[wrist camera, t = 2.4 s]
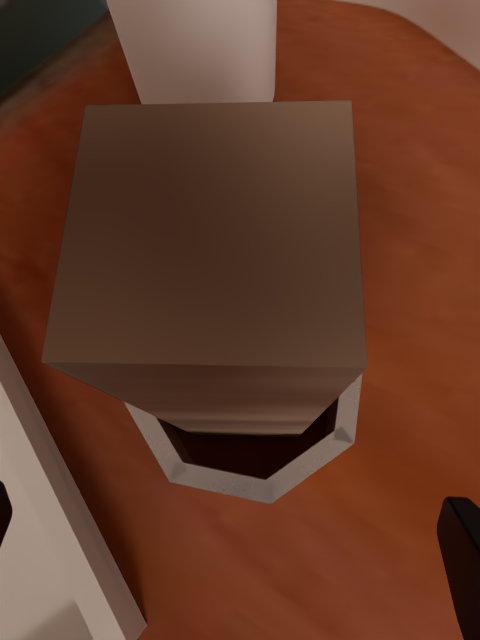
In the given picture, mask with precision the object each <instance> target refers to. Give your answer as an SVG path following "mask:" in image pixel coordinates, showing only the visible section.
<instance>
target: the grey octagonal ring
mask: <svg viewBox="0 0 480 640" xmlns="http://www.w3.org/2000/svg"><path fill="white" fill-rule="evenodd" d="M361 380H362V374H361V375H360V376H359V377H358V378H357V379H356V380H355V381H354V382H353V383H352V384H351V385H350V386H349V387H348V388H347V389H346V390H345V391H344V392H343V393H342V394H341V395H340V396H339V397H338V398H337V399H336V400H335V401H334V402H333V403H332V404H331V405H330V406H329V412H328V419H327V427H326V434H325V437H323V438H322V439H321V440H319V441H318V442H316V443H315V444H314V445H312V446H311V447H309V448H308V449H307V450H305V451H304V452H302V453H301V454H300V455H298V456H297V457H295V458H294V459H293V460H291V461H290V462H288V463H287V464H286V465H284V466H283V467H281V468H280V469H279V470H277V471H276V472H274V473H273V474H272V475H270V476H269V477H267V478H266V479H265V478H260V477H256V476H251V475H246V474H241V473H237V472H232V471H227V470H222V469H218V468H213V467H208V466H204V465H199V464H194V462H193V461H192V459H191V457H190V456H189V454H188V452H187V451H186V449H185V447H184V446H183V444H182V442H181V441H180V439H179V437H178V436H177V434H176V432H175V431H174V429H173V427H172V426H171V424H170V423H168V422H166V421H164V420H162V419H159V418H157V417H155V416H153V415H151V414H149V413H147V412H145V411H143V410H140V409H138V408H136V407H134V406H132V405H130V404H128V403H126V402H124V401H123V402H124V403H125V405H126V407H127V409H128V410H129V412H130V414H131V416H132V417H133V419H134V421H135V422H136V424H137V426H138V428H139V429H140V431H141V433H142V435H143V436H144V438H145V440H146V442H147V443H148V445H149V447H150V449H151V450H152V452H153V454H154V456H155V457H156V459H157V461H158V462H159V464H160V466H161V468H162V469H163V471H164V473H165V475H166V476H167V478H168V480H169V482H172V483H176V484H181V485H186V486H190V487H195V488H199V489H204V490H209V491H213V492H218V493H222V494H227V495H232V496H236V497H241V498H245V499H250V500H255V501H259V502H264V503H268V504H271V503H273V502H274V501H275V500H277V499H278V498H280V497H281V496H282V495H284V494H285V493H286V492H288V491H289V490H291V489H292V488H293V487H295V486H296V485H297V484H299V483H300V482H302V481H303V480H304V479H306V478H307V477H309V476H310V475H311V474H313V473H314V472H315V471H317V470H318V469H320V468H321V467H322V466H324V465H325V464H326V463H328V462H329V461H331V460H332V459H333V458H335V457H336V456H337V455H339V454H340V453H342V452H343V451H344V450H346V449H347V448H348V447H350V446H351V445H353V444H354V441H355V432H356V423H357V415H358V406H359V398H360V389H361Z"/></svg>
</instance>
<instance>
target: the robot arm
mask: <svg viewBox="0 0 480 640" xmlns="http://www.w3.org/2000/svg"><path fill="white" fill-rule="evenodd" d="M12 512H13V511H12V505H11V502H10V499H9V496H8V493H7V491H6V488H5V485H4V483H3V482H2V481H0V547H1V544H2V542H3V539H4V537H5V534H6V532H7V529H8V526H9V524H10V521H11V518H12ZM437 536H438V541H439V545H440V549H441V554H442V558H443V562H444V566H445V571H446V575H447V579H448V583H449V588H450V592H451V596H452V600H453V604H454V608H455V612H456V616H457V620H458V623H459V626H460V629H461V633H462V636H463V638H464V640H480V508H479V507H478V506H477V505H476V504H474V503H473V502H472V501H471V500H470V499H468V498H466V497H446V498H445V499H444V501H443V504H442V508H441V512H440V515H439V519H438V523H437Z"/></svg>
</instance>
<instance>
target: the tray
mask: <svg viewBox="0 0 480 640" xmlns="http://www.w3.org/2000/svg"><path fill="white" fill-rule="evenodd" d="M0 481H2V482H3V483H4V485H5V488H6V491H7V493H8V496H9V499H10V502H11V505H12V511H13V512H12V518H11V521H10V524H9V526H8V529H7V532H6V534H5V537H4V539H3V542H2V544H1V547H0V640H137V639H138V638H139V636H140V635H141V634H142V632H143V631H144V630H145V628H146V627H147V624H146V622H145V620H144V618H143V616H142V614H141V612H140V610H139V608H138V606H137V604H136V602H135V600H134V598H133V596H132V594H131V592H130V590H129V588H128V586H127V584H126V582H125V580H124V578H123V576H122V574H121V572H120V570H119V568H118V566H117V564H116V562H115V560H114V558H113V556H112V554H111V552H110V550H109V548H108V546H107V544H106V543H105V541H104V539H103V537H102V535H101V533H100V531H99V529H98V527H97V525H96V523H95V521H94V519H93V517H92V515H91V513H90V511H89V509H88V507H87V505H86V503H85V501H84V499H83V497H82V495H81V493H80V491H79V489H78V487H77V485H76V483H75V481H74V479H73V477H72V475H71V473H70V471H69V469H68V467H67V465H66V463H65V461H64V459H63V457H62V455H61V453H60V451H59V450H58V448H57V446H56V444H55V442H54V440H53V438H52V436H51V434H50V432H49V430H48V428H47V426H46V424H45V422H44V420H43V418H42V416H41V414H40V412H39V410H38V408H37V406H36V404H35V402H34V400H33V398H32V396H31V394H30V392H29V390H28V388H27V386H26V384H25V382H24V380H23V378H22V376H21V374H20V372H19V370H18V368H17V366H16V364H15V362H14V360H13V358H12V357H11V355H10V353H9V351H8V349H7V347H6V345H5V343H4V341H3V339H2V337H1V335H0Z"/></svg>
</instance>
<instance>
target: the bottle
mask: <svg viewBox="0 0 480 640" xmlns="http://www.w3.org/2000/svg"><path fill="white" fill-rule="evenodd" d="M106 1H107V5H108V7H109V10H110V13H111V16H112V19H113V22H114V25H115V28H116V31H117V34H118V37H119V40H120V43H121V46H122V49H123V51H124V54H125V57H126V60H127V63H128V66H129V69H130V72H131V75H132V78H133V81H134V84H135V87H136V90H137V92H138V95H139V98H140V101H141V104H188V103H242V102H273V98H274V93H275V60H276V17H277V0H106Z"/></svg>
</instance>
